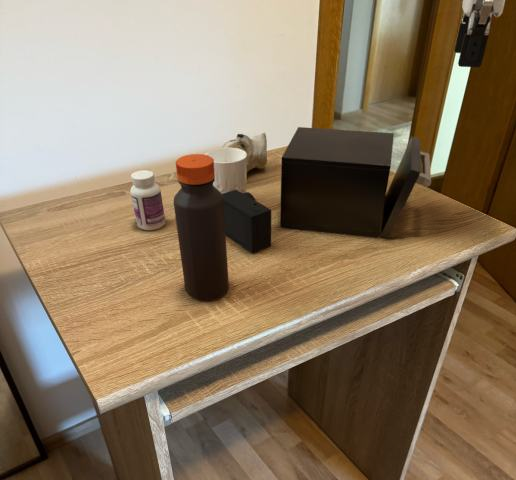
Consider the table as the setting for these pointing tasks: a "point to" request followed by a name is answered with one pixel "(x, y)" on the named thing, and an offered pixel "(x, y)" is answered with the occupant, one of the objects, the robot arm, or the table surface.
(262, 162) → the ceramic sculpture
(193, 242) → the vinegar
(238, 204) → the digital camera
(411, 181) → the oven door
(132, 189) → the pill bottle
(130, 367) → the table surface
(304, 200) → the oven
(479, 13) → the robot arm
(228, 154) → the white cup
